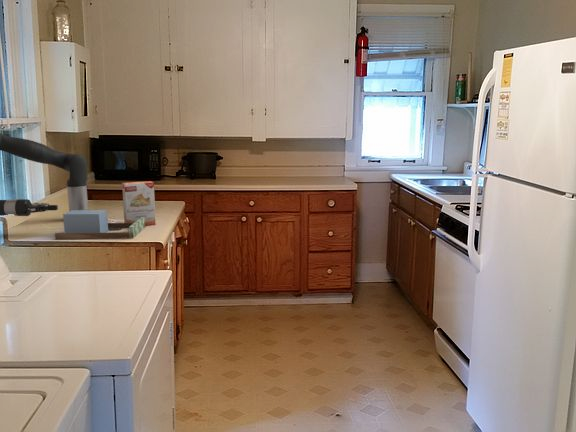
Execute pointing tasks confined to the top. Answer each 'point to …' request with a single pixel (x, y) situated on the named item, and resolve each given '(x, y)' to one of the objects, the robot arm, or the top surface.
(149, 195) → the cracker box
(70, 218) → the slate block
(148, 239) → the top surface
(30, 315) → the top surface
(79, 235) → the tray
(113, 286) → the top surface
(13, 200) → the robot arm
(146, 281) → the top surface
